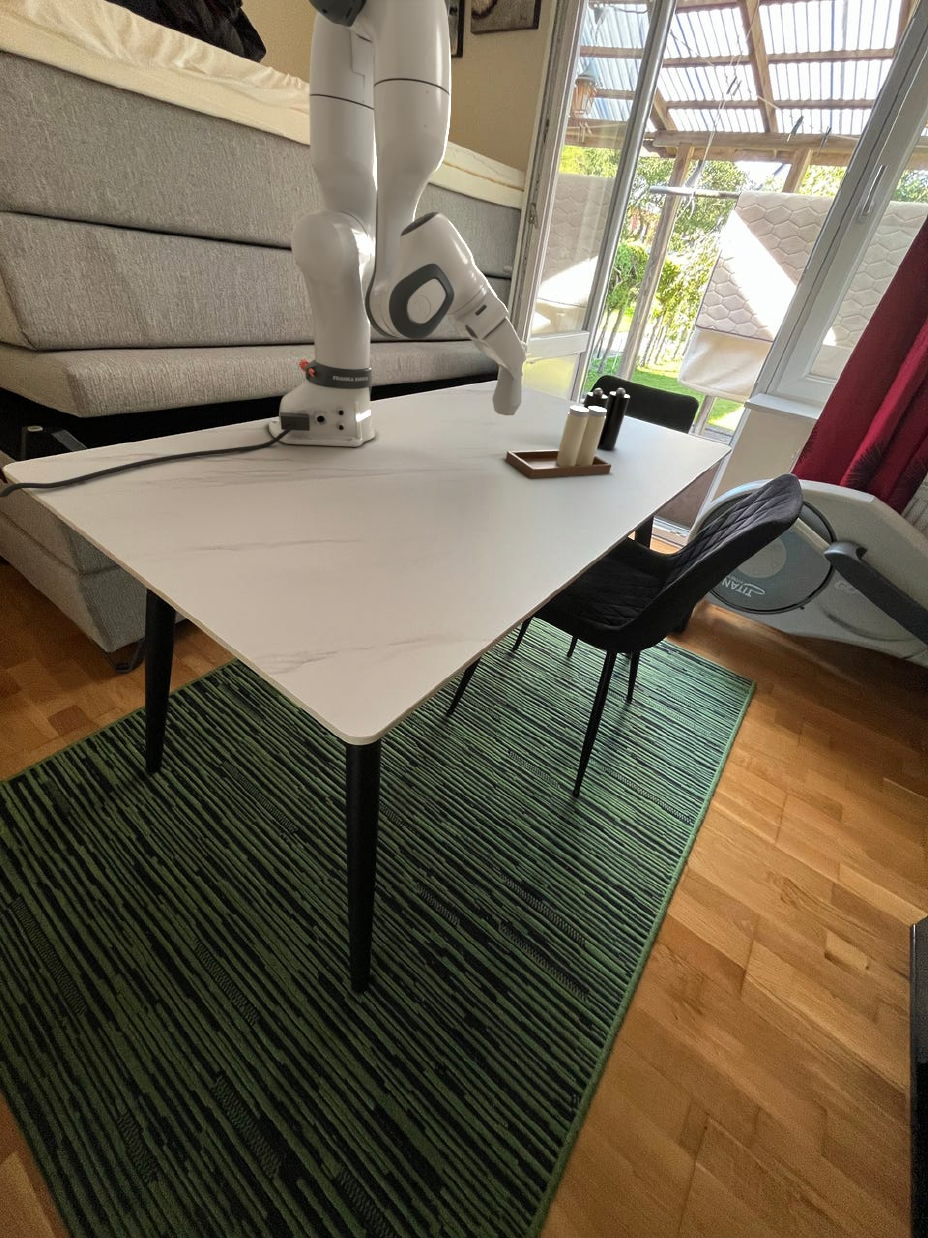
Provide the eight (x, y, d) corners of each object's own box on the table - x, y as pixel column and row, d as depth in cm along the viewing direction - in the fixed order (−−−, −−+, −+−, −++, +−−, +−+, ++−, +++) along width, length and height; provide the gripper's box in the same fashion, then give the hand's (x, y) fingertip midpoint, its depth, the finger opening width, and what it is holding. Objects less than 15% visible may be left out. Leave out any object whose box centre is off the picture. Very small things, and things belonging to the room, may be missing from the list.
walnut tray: (530, 478, 108) (533, 469, 107) (505, 459, 115) (507, 451, 114) (608, 473, 118) (611, 465, 116) (580, 456, 125) (583, 448, 124)
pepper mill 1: (580, 453, 127) (597, 391, 119) (568, 446, 130) (584, 385, 122) (596, 452, 129) (614, 391, 121) (584, 445, 133) (600, 385, 124)
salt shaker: (519, 411, 106) (532, 341, 99) (518, 418, 102) (532, 345, 94) (491, 406, 107) (502, 336, 99) (489, 413, 102) (501, 340, 94)
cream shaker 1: (563, 468, 115) (577, 411, 107) (551, 461, 118) (565, 405, 110) (578, 467, 117) (594, 411, 109) (567, 460, 120) (581, 405, 112)
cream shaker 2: (580, 467, 117) (596, 411, 110) (569, 460, 120) (583, 405, 113) (595, 466, 119) (611, 411, 112) (584, 459, 122) (599, 405, 115)
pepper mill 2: (603, 450, 131) (621, 390, 123) (590, 443, 135) (607, 384, 126) (617, 450, 133) (636, 391, 125) (605, 443, 137) (622, 385, 128)
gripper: (445, 314, 100) (484, 373, 109) (478, 333, 84) (520, 400, 93) (470, 290, 99) (508, 351, 107) (508, 305, 83) (548, 375, 92)
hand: (514, 374), depth 100 cm, fingers closed on salt shaker, 3 cm apart
